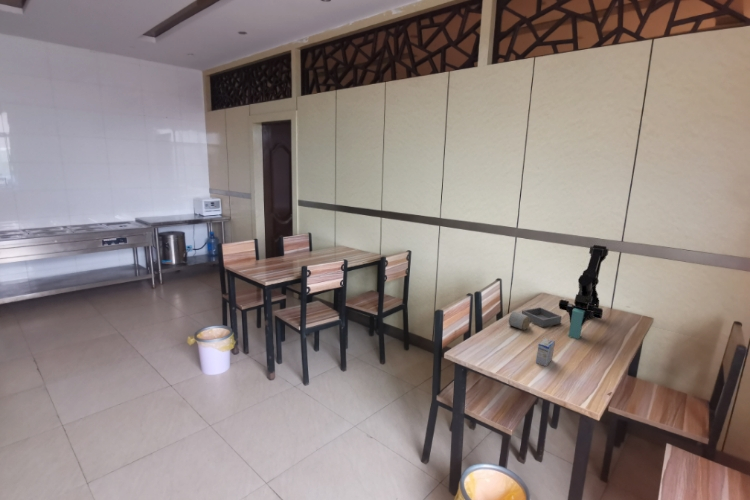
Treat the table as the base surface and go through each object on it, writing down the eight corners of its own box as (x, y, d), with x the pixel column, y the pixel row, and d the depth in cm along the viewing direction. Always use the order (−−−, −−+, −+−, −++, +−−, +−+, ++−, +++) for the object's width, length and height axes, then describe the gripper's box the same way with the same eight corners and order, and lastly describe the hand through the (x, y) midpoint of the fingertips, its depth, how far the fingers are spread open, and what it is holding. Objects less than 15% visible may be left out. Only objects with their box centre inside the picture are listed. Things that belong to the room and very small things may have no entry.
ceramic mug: (522, 332, 190) (524, 317, 189) (507, 326, 196) (509, 312, 195) (533, 327, 198) (535, 312, 196) (517, 321, 203) (519, 307, 202)
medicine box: (541, 356, 167) (544, 337, 165) (552, 360, 164) (555, 340, 162) (535, 363, 161) (538, 343, 159) (546, 367, 158) (549, 347, 156)
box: (539, 314, 215) (540, 307, 214) (560, 323, 203) (561, 316, 202) (521, 317, 209) (522, 310, 208) (542, 327, 197) (543, 320, 196)
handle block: (570, 333, 192) (574, 308, 189) (580, 336, 189) (584, 310, 186) (568, 336, 188) (572, 310, 185) (578, 339, 186) (583, 313, 183)
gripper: (562, 283, 192) (553, 311, 186) (606, 292, 181) (598, 321, 175) (563, 295, 200) (555, 321, 194) (605, 304, 189) (598, 332, 183)
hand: (576, 324), depth 186 cm, fingers closed on handle block, 4 cm apart
